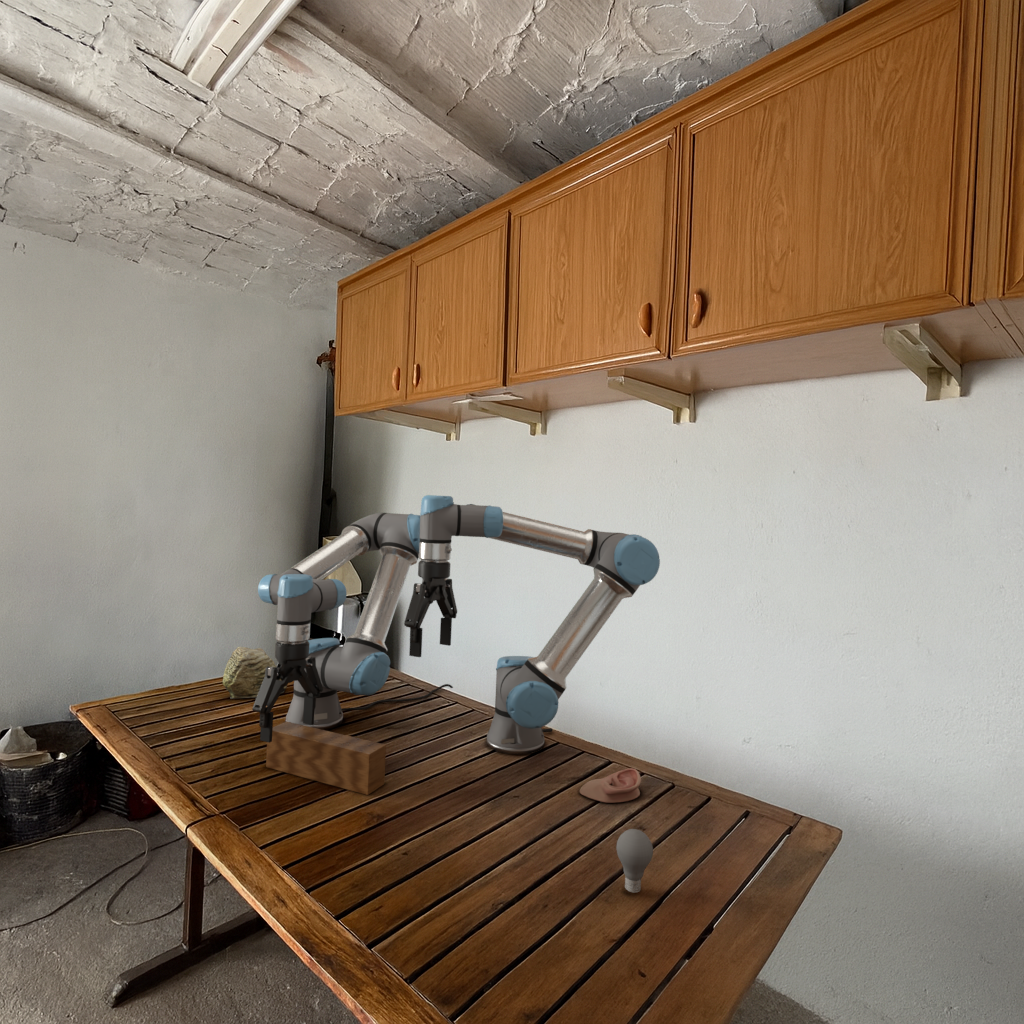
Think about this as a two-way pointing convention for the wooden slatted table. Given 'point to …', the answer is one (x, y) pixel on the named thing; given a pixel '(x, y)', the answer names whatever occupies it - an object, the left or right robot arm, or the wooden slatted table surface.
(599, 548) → the right robot arm
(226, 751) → the wooden slatted table surface
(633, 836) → the light bulb
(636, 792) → the anatomical model
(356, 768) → the box
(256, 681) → the fossil
